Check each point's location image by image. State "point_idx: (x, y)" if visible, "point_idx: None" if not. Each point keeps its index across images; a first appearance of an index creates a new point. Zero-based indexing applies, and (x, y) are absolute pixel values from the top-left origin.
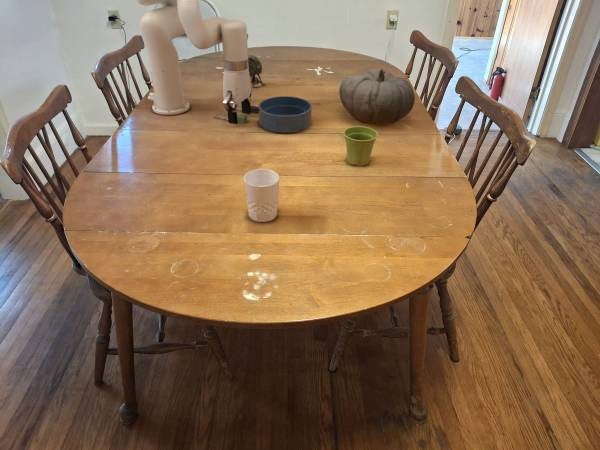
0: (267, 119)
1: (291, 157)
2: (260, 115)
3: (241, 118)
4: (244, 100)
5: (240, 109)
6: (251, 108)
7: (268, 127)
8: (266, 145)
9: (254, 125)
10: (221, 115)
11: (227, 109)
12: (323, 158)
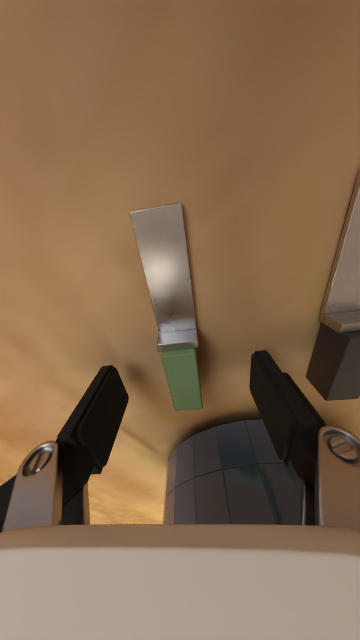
0: (163, 516)
1: (102, 505)
2: (177, 502)
3: (172, 396)
4: (306, 463)
5: (342, 279)
6: (331, 369)
7: (166, 476)
8: (101, 475)
9: (183, 417)
10: (179, 234)
11: (4, 496)
12: (139, 523)
